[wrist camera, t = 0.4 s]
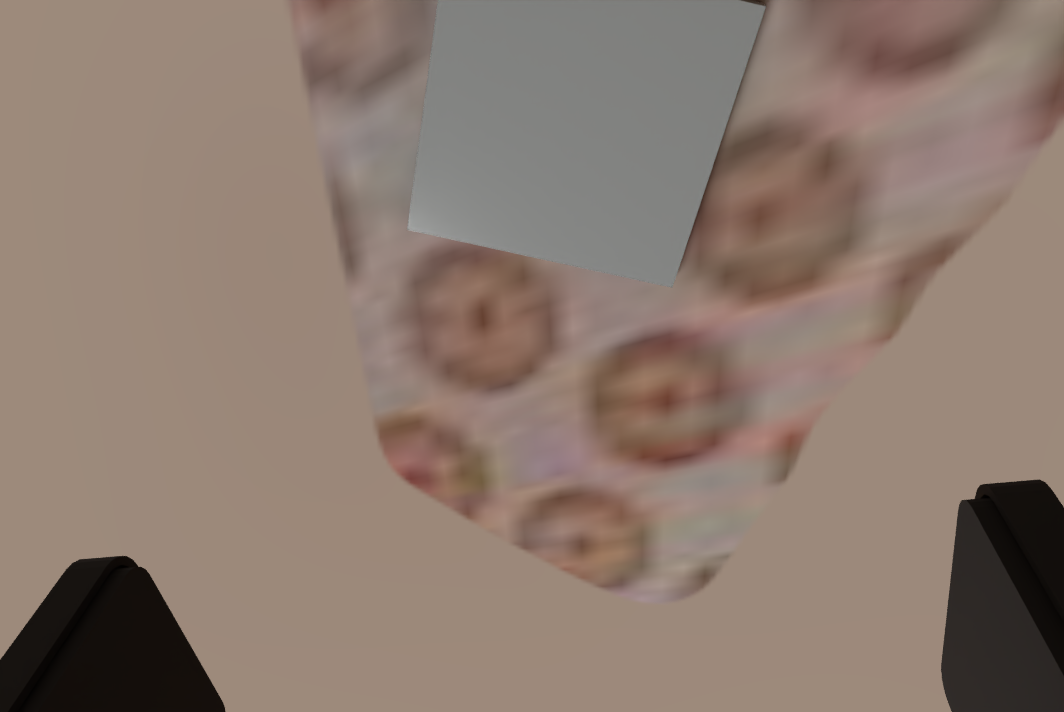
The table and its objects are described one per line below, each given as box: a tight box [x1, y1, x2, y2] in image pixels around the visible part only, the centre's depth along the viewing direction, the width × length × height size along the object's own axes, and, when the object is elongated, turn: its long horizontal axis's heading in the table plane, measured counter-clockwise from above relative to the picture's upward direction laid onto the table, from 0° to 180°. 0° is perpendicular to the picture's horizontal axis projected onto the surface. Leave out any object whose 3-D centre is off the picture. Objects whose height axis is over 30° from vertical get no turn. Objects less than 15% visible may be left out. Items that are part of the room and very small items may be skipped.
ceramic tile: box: [407, 0, 766, 288], centre depth 34 cm, size 12×12×1 cm
